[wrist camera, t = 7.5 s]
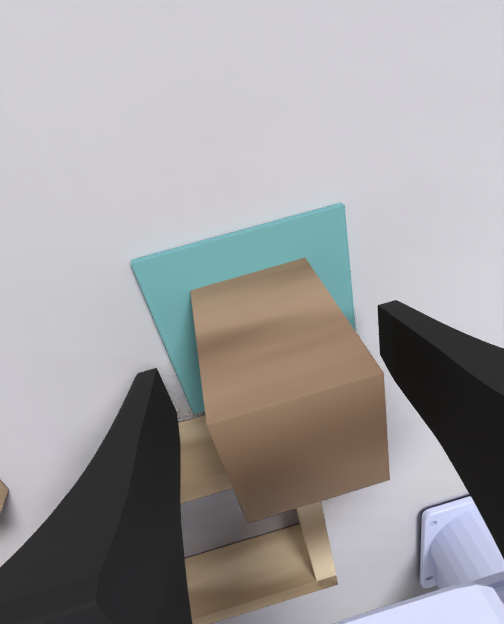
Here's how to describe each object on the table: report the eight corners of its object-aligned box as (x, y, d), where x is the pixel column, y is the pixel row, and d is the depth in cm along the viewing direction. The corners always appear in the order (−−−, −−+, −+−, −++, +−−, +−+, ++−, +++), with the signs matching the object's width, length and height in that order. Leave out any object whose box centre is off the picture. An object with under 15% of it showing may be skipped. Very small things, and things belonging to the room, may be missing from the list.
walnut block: (319, 347, 16) (390, 480, 11) (221, 376, 16) (247, 523, 11) (304, 257, 14) (383, 373, 9) (190, 290, 14) (206, 425, 9)
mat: (356, 362, 18) (359, 367, 17) (193, 409, 17) (193, 414, 17) (341, 202, 14) (344, 205, 13) (131, 259, 13) (130, 263, 13)
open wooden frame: (319, 528, 24) (337, 584, 21) (5, 622, 23) (-14, 693, 21) (288, 391, 18) (309, 447, 15) (-139, 514, 17) (-190, 594, 15)
